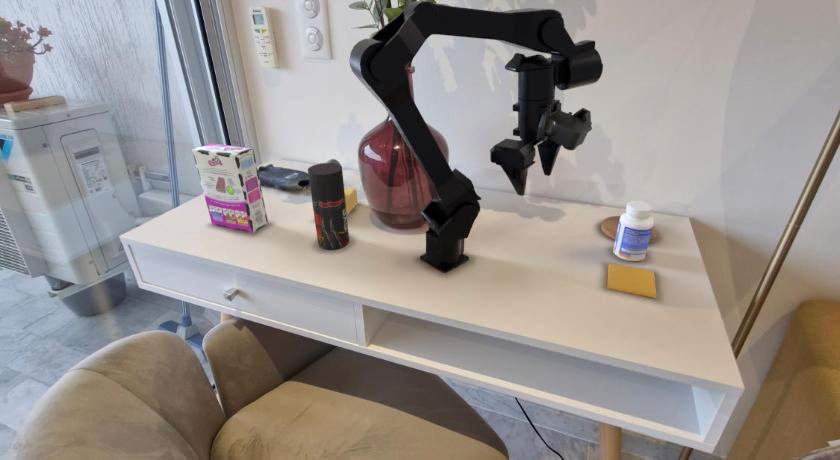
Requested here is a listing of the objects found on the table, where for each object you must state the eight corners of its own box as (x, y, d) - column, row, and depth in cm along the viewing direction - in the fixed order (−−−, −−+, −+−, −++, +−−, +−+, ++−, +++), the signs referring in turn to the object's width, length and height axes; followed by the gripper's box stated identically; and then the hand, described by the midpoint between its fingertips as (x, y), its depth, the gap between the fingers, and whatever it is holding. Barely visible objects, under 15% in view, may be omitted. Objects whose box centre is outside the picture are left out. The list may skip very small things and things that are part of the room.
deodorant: (349, 249, 81) (341, 173, 74) (316, 251, 81) (305, 175, 74) (349, 234, 87) (342, 162, 79) (319, 236, 86) (309, 163, 79)
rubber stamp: (341, 223, 91) (335, 168, 85) (315, 220, 92) (308, 166, 86) (358, 203, 99) (353, 152, 94) (334, 201, 100) (328, 151, 95)
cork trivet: (642, 250, 80) (643, 245, 79) (591, 231, 86) (592, 226, 86) (664, 232, 86) (665, 227, 85) (615, 215, 92) (616, 211, 92)
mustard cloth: (655, 298, 67) (656, 295, 67) (607, 288, 70) (607, 285, 69) (653, 274, 73) (653, 271, 73) (608, 266, 75) (609, 263, 75)
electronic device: (249, 191, 110) (295, 193, 103) (245, 169, 108) (291, 170, 101) (276, 183, 117) (320, 184, 111) (272, 163, 116) (316, 162, 109)
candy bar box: (270, 223, 91) (255, 147, 83) (253, 234, 87) (236, 155, 79) (228, 215, 95) (210, 141, 87) (210, 225, 91) (190, 149, 83)
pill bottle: (651, 259, 77) (666, 209, 72) (626, 264, 76) (638, 214, 71) (630, 244, 82) (642, 197, 77) (606, 249, 80) (616, 201, 76)
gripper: (554, 118, 59) (550, 219, 67) (610, 84, 70) (601, 174, 78) (486, 110, 66) (490, 202, 74) (547, 80, 77) (544, 163, 85)
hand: (534, 184), depth 77 cm, fingers open, 9 cm apart
